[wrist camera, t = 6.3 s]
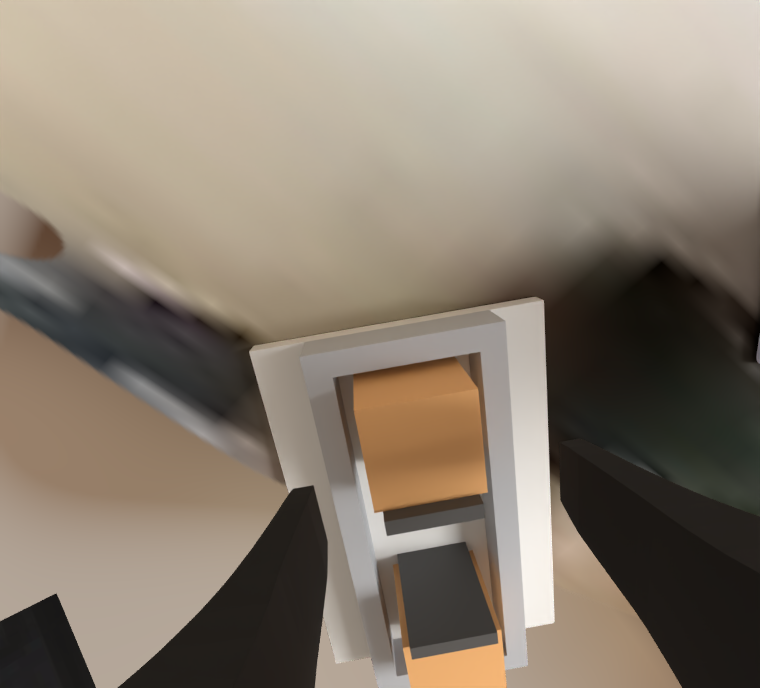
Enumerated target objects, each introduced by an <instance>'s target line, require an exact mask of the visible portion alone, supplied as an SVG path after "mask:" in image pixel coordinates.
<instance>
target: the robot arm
mask: <svg viewBox="0 0 760 688" xmlns="http://www.w3.org/2000/svg"><path fill="white" fill-rule="evenodd" d="M756 357H757V362H758V363H759V364H760V335H759V342H758V349H757V356H756ZM559 453H560V497H561V502H562V504H563V506H564V508H565V509H566V511H567V513H568V515H569V517H570V519H571V520H572V522H573V524H574V526H575V527H576V529H577V531H578V533H579V534H580V536H581V537H582V538H583V540H584V541H585V543H586V544H587V545H588V547H589V548H590V550H591V551H592V552H593V554H594V555H595V557H596V558H597V559H598V561H599V562H600V563H601V565H602V566H603V568H604V569H605V570H606V572H607V573H608V574H609V576H610V577H611V579H612V580H613V581H614V583H615V584H616V585H617V587H618V588H619V590H620V591H621V592H622V594H623V595H624V596H625V598H626V599H627V600H628V602H629V603H630V605H631V606H632V607H633V609H634V610H635V612H636V613H637V615H638V616H639V618H640V619H641V620H642V622H643V623H644V625H645V626H646V628H647V629H648V631H649V633H650V634H651V636H652V638H653V639H654V641H655V642H656V644H657V646H658V648H659V649H660V651H661V653H662V654H663V656H664V658H665V659H666V661H667V663H668V664H669V666H670V668H671V669H672V671H673V673H674V674H675V676H676V678H677V679H678V681H679V683H680V685H681V686H682V688H760V516H757V515H754V514H751V513H748V512H745V511H743V510H740V509H737V508H734V507H732V506H729V505H726V504H723V503H721V502H718V501H715V500H713V499H710V498H708V497H705V496H703V495H700V494H698V493H696V492H693V491H691V490H689V489H686V488H684V487H682V486H679V485H677V484H675V483H672V482H670V481H668V480H666V479H664V478H661V477H659V476H657V475H655V474H653V473H651V472H649V471H647V470H644V469H642V468H640V467H638V466H636V465H634V464H632V463H630V462H628V461H626V460H624V459H622V458H620V457H618V456H616V455H614V454H612V453H610V452H608V451H606V450H604V449H602V448H600V447H598V446H596V445H593V444H591V443H589V442H587V441H585V440H582V439H574V440H569V441H563V442H559ZM327 576H328V540H327V536H326V532H325V528H324V524H323V520H322V516H321V512H320V508H319V505H318V501H317V497H316V493H315V489H314V485H312V486H306V487H300V488H295V489H292V491H291V492H290V493H289V495H288V496H287V498H286V499H285V501H284V502H283V504H282V505H281V507H280V508H279V510H278V512H277V513H276V515H275V516H274V518H273V519H272V521H271V522H270V524H269V525H268V527H267V528H266V530H265V531H264V532H263V534H262V535H261V537H260V538H259V539H258V541H257V542H256V544H255V545H254V547H253V548H252V549H251V551H250V552H249V553H248V555H247V556H246V557H245V558H244V560H243V561H242V562H241V564H240V565H239V566H238V568H237V569H236V570H235V572H234V573H233V574H232V575H231V577H230V578H229V579H228V580H227V581H226V583H225V584H224V585H223V586H222V587H221V589H220V590H219V591H218V592H217V593H216V594H215V595H214V596H213V598H212V599H211V600H210V601H209V602H208V603H207V604H206V605H205V606H204V607H203V609H202V610H201V611H200V612H199V613H198V614H197V615H196V616H195V617H194V618H193V619H192V620H191V621H190V622H189V623H188V624H187V625H186V626H185V627H184V628H183V629H182V630H181V631H180V632H179V633H178V634H177V635H176V636H175V637H174V638H173V639H171V641H169V642H168V643H167V644H166V645H165V646H164V647H163V648H162V649H161V650H160V651H159V652H158V653H157V654H156V655H155V656H154V657H153V658H151V659H150V660H149V661H148V662H147V663H146V664H145V665H144V666H142V667H141V668H140V669H139V670H138V671H137V672H136V673H134V674H133V675H132V676H131V677H130V678H128V679H127V680H126V681H125V682H124V683H123V684H121V685H120V686H119V687H118V688H315V678H316V667H317V658H318V651H319V643H320V635H321V626H322V618H323V611H324V603H325V595H326V586H327Z"/></svg>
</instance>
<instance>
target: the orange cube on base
mask: <svg viewBox="0 0 760 688" xmlns="http://www.w3.org/2000/svg"><path fill="white" fill-rule="evenodd" d="M353 395H354V415H355V420H356V425H357V430H358V434H359V439H360V444H361V449H362V454H363V459H364V464H365V469H366V474H367V479H368V484H369V489H370V494H371V499H372V504H373V508H374V513H378V512H383V516H384V524H385V529H386V534H387V536H391V535H396V534H402V533H407V532H413V531H418V530H424V529H429V528H435V527H440V526H446V525H451V524H457V523H462V522H468V521H473V520H478V519H484V518H485V510H484V503H483V501H482V499H481V497H480V494H483V493H488V489H487V478H486V467H485V456H484V446H483V435H482V424H481V413H480V402H479V391H478V388H477V386H476V385H475V384H474V382H473V381H472V379H471V378H470V377H469V375H468V374H467V373H466V371H465V370H464V369H463V367H462V366H461V365H460V363H459V362H458V361H457V359H456V358H455V357H454V356H453V357H447V358H442V359H436V360H430V361H425V362H419V363H413V364H408V365H402V366H396V367H391V368H385V369H379V370H374V371H368V372H362V373H356V374H353Z"/></svg>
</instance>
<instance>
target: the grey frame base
mask: <svg viewBox="0 0 760 688" xmlns="http://www.w3.org/2000/svg"><path fill="white" fill-rule="evenodd" d="M249 353H250V357H251V360H252V364H253V368H254V371H255V375H256V378H257V382H258V386H259V389H260V393H261V396H262V400H263V403H264V407H265V411H266V414H267V418H268V421H269V425H270V428H271V432H272V436H273V439H274V443H275V446H276V450H277V454H278V457H279V461H280V464H281V468H282V471H283V475H284V479H285V482H286V486H287V489H288V493H290V492H291V491H292V489H295V488H300V487H306V486H312V485H314V489H315V493H316V497H317V501H318V505H319V508H320V512H321V516H322V520H323V524H324V528H325V532H326V536H327V540H328V576H327V586H326V595H325V603H324V611H323V618H324V622H325V625H326V628H327V632H328V636H329V639H330V643H331V647H332V650H333V654H334V657H335V661H336V663H343V662H348V661H353V660H359V659H364V658H369V657H371V660H372V664H373V668H374V672H375V676H376V680H377V685H378V688H507V686H506V675H505V670H509V669H514V668H519V667H525V666H528V660H527V645H526V630H525V628H529V627H534V626H539V625H545V624H551V623H554V592H553V562H552V532H551V502H550V472H549V442H548V412H547V382H546V352H545V322H544V300H542V299H539V298H537V297H530V298H524V299H519V300H513V301H507V302H501V303H496V304H490V305H484V306H478V307H473V308H467V309H461V310H455V311H450V312H444V313H438V314H432V315H427V316H421V317H415V318H410V319H404V320H398V321H392V322H387V323H381V324H375V325H369V326H364V327H358V328H352V329H346V330H341V331H335V332H329V333H323V334H318V335H312V336H306V337H300V338H295V339H289V340H283V341H277V342H272V343H266V344H260V345H254V346H253V347H252V349H251V350H250V351H249ZM453 356H454V357H455V358H456V359H457V361H458V362H459V363H460V365H461V366H462V367H463V369H464V370H465V371H466V373H467V374H468V375H469V377H470V378H471V379H472V381H473V382H474V384H475V385H476V386H477V388H478V391H479V402H480V413H481V424H482V435H483V446H484V456H485V467H486V478H487V489H488V493H483V494H480V497H481V499H482V501H483V503H484V510H485V518H484V519H478V520H473V521H468V522H462V523H457V524H451V525H446V526H440V527H435V528H429V529H424V530H418V531H413V532H407V533H402V534H396V535H391V536H387V534H386V529H385V524H384V516H383V512H378V513H374V508H373V504H372V499H371V494H370V489H369V484H368V479H367V474H366V469H365V464H364V459H363V454H362V449H361V444H360V439H359V434H358V430H357V425H356V420H355V415H354V395H353V374H356V373H362V372H368V371H374V370H379V369H385V368H391V367H396V366H402V365H408V364H413V363H419V362H425V361H430V360H436V359H442V358H447V357H453Z"/></svg>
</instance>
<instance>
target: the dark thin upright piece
mask: <svg viewBox="0 0 760 688" xmlns="http://www.w3.org/2000/svg"><path fill="white" fill-rule="evenodd" d="M0 688H96V687H95V684H94V682H93V679H92V677H91V675H90V672H89V670H88V667H87V665H86V663H85V660H84V658H83V655H82V653H81V651H80V648H79V646H78V643H77V641H76V639H75V636H74V634H73V632H72V629H71V627H70V625H69V622H68V620H67V617H66V615H65V612H64V610H63V608H62V605H61V603H60V600H59V598H58V596H57V594H54V595H52V596H50V597H48V598H46V599H44V600H42V601H40V602H38V603H36V604H34V605H32V606H30V607H28V608H26V609H24V610H22V611H20V612H18V613H16V614H14V615H12V616H10V617H8V618H6V619H4V620H2V621H0Z"/></svg>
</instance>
